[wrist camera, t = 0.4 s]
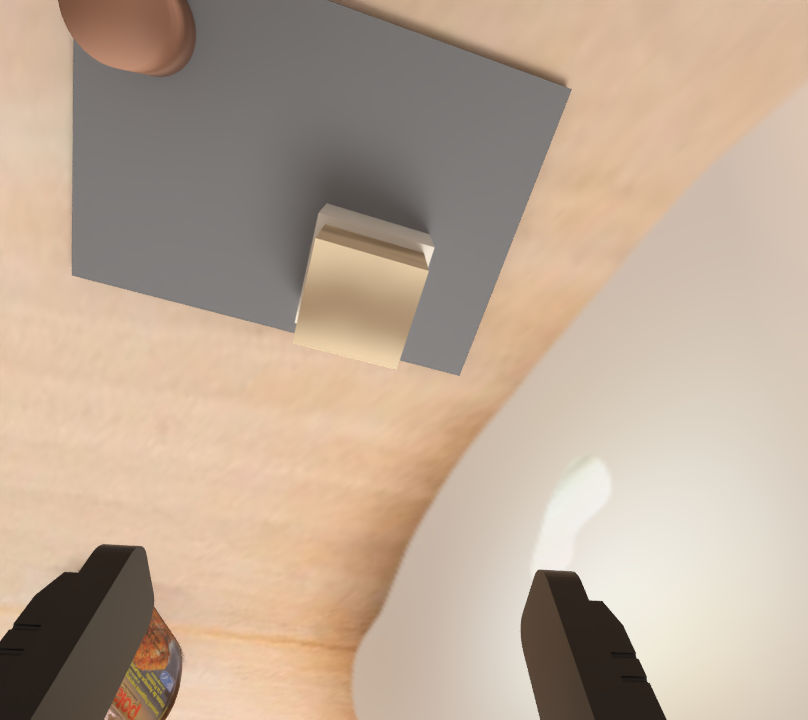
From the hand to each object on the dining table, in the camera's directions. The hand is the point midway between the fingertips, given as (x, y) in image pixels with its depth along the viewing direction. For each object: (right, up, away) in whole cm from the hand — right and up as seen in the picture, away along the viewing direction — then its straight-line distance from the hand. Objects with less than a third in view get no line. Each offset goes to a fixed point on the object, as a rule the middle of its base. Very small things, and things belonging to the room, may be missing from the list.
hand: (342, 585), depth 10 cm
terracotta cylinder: (-13, +23, +17) cm, 31 cm away
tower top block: (-1, +9, +19) cm, 22 cm away
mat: (-5, +16, +22) cm, 27 cm away
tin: (-25, -22, +39) cm, 52 cm away
